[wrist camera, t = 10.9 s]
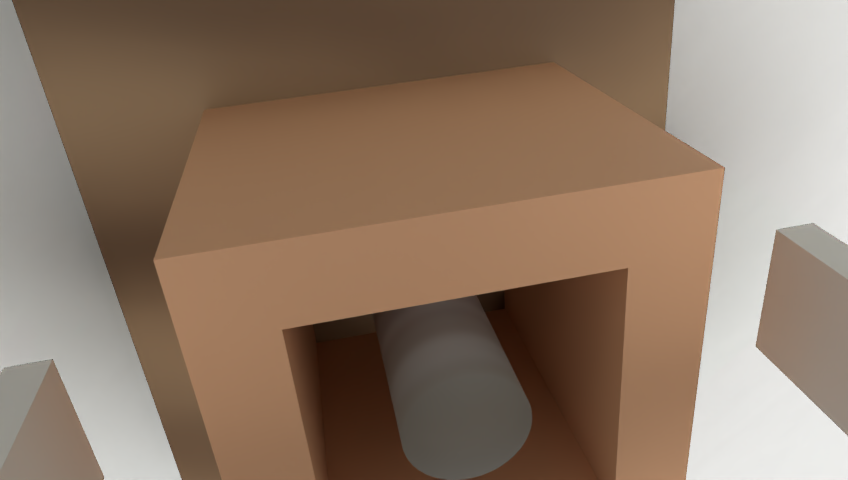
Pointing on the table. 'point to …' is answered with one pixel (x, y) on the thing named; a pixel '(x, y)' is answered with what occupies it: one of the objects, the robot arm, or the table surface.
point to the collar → (442, 270)
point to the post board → (295, 77)
